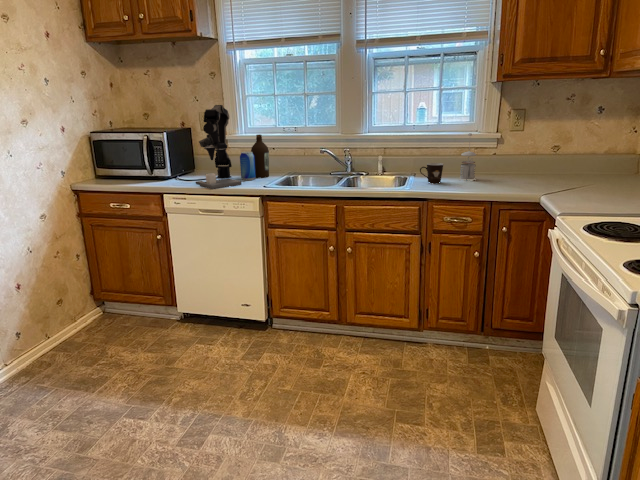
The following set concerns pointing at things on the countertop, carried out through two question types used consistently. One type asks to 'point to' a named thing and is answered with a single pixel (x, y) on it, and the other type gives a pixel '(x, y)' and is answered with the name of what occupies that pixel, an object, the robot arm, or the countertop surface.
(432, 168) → the coffee mug
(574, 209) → the countertop surface
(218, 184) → the outlet plate
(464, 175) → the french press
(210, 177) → the block
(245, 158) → the beer can
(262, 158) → the olive oil
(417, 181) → the countertop surface
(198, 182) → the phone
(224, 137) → the robot arm
